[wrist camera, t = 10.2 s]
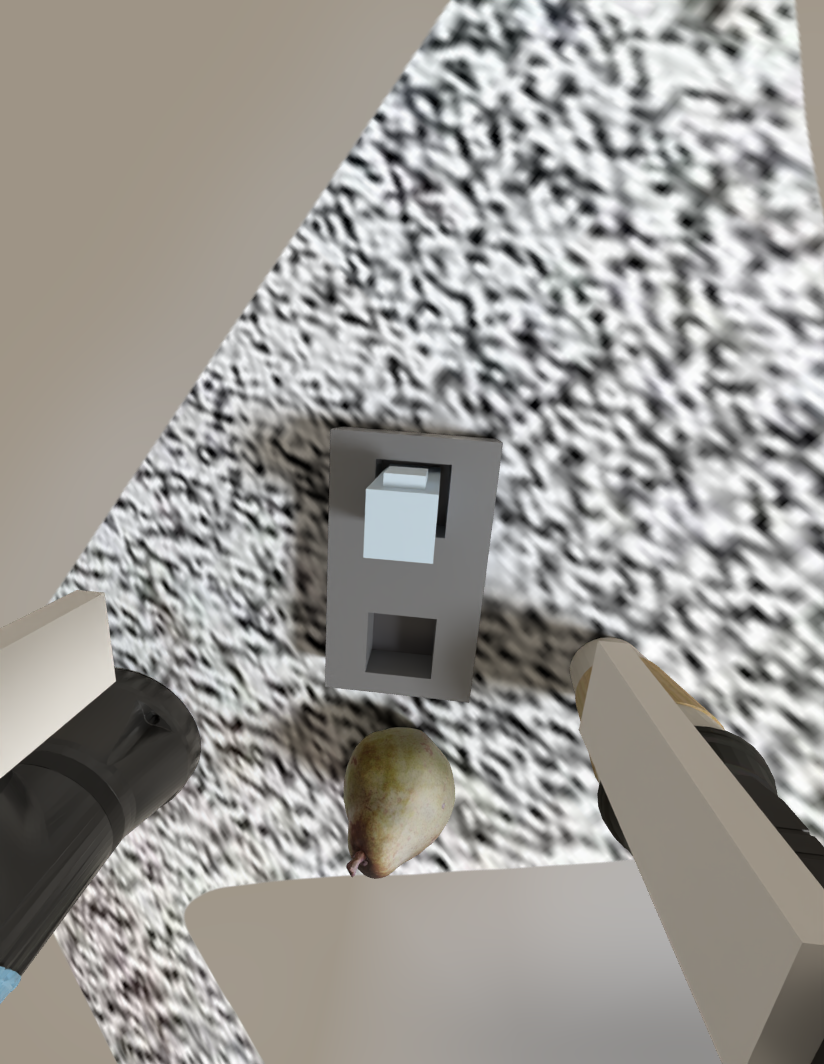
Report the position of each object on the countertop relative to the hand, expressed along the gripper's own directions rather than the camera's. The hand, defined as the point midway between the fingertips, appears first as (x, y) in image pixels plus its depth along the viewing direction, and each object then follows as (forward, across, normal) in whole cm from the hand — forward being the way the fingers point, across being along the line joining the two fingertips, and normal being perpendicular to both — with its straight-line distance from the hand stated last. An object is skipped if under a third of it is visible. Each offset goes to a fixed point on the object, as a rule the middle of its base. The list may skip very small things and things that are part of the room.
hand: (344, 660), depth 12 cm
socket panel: (+25, 0, -6) cm, 26 cm away
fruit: (+25, +1, -25) cm, 36 cm away
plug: (+24, 0, 0) cm, 24 cm away
